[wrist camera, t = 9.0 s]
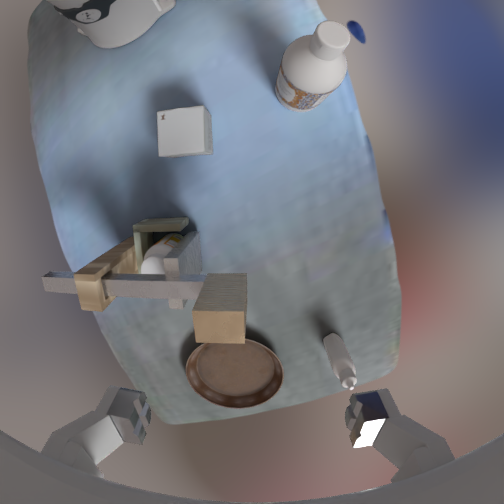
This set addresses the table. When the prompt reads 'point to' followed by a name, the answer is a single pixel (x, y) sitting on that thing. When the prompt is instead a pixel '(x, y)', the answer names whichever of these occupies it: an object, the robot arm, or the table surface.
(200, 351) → the plant saucer
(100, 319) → the table surface
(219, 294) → the rod with square block
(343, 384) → the eye dropper bottle
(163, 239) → the supplement bottle
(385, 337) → the table surface
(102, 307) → the frame
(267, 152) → the table surface
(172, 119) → the product box
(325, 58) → the bath foam
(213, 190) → the table surface
